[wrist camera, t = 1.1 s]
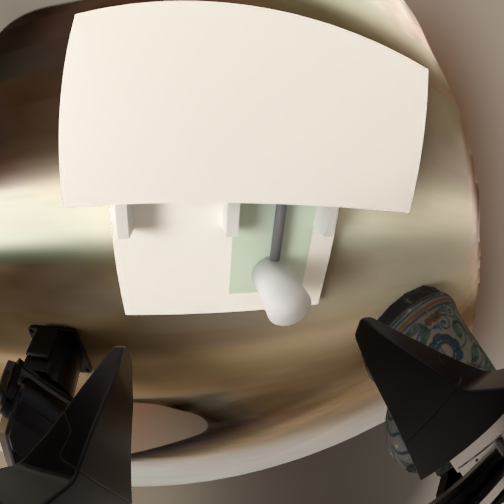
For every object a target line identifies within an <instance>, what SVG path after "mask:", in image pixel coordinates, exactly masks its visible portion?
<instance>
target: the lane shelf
mask: <svg viewBox="0 0 504 504" xmlns="http://www.w3.org/2000/svg"><path fill="white" fill-rule="evenodd" d="M427 95H428V69H427V68H425V67H423V66H422V65H420V64H418V63H416V62H415V61H413V60H411V59H409V58H407V57H406V56H404V55H402V54H400V53H398V52H396V51H394V50H392V49H390V48H388V47H386V46H384V45H381V44H379V43H377V42H375V41H372V40H370V39H368V38H365V37H363V36H361V35H358V34H356V33H353V32H350V31H348V30H345V29H342V28H339V27H337V26H334V25H331V24H328V23H324V22H321V21H318V20H315V19H311V18H307V17H304V16H300V15H296V14H292V13H288V12H283V11H278V10H273V9H268V8H263V7H256V6H250V5H243V4H234V3H224V2H210V1H157V2H144V3H134V4H126V5H119V6H112V7H106V8H101V9H96V10H91V11H87V12H83V13H79V14H75V17H74V20H73V24H72V28H71V33H70V37H69V42H68V47H67V52H66V58H65V64H64V71H63V79H62V87H61V98H60V113H59V170H60V185H61V196H62V205H63V208H73V207H88V206H105V205H109V208H110V219H111V229H112V238H113V246H114V254H115V261H116V267H117V273H118V279H119V285H120V290H121V295H122V300H123V305H124V310H125V315H170V314H200V313H221V312H237V311H252V310H265V309H264V306H263V304H262V302H261V300H260V297H259V295H258V293H257V290H256V288H255V286H254V283H253V281H252V277H251V274H252V270H253V268H254V266H255V265H256V264H257V263H258V262H259V261H260V260H262V259H263V258H266V257H269V256H270V250H271V242H272V234H273V226H274V218H275V210H276V204H286V205H287V210H286V218H285V225H284V232H283V239H282V246H281V253H280V258H282V259H284V260H285V261H286V263H287V264H288V266H289V267H290V268H291V270H292V271H293V273H294V274H295V276H296V277H297V278H298V280H299V281H300V283H301V284H302V286H303V287H304V288H305V290H306V291H307V293H308V294H309V296H310V298H311V305H317V304H318V302H319V298H320V294H321V290H322V286H323V282H324V278H325V274H326V270H327V266H328V262H329V257H330V253H331V248H332V244H333V239H334V234H335V229H336V224H337V219H338V214H339V209H340V207H342V208H356V209H369V210H381V211H392V212H402V213H410V209H411V205H412V200H413V196H414V191H415V186H416V181H417V176H418V171H419V165H420V159H421V152H422V146H423V138H424V130H425V120H426V109H427Z"/></svg>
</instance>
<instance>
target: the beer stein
mask: <svg viewBox="0 0 504 504" xmlns="http://www.w3.org/2000/svg"><path fill="white" fill-rule="evenodd" d="M377 321H379V322H381V323H383V324H385V325H387V326H389V327H391V328H393V329H395V330H397V331H399V332H401V333H403V334H405V335H407V336H409V337H411V338H413V339H415V340H417V341H419V342H421V343H423V344H425V345H427V346H429V347H431V348H433V349H435V350H437V351H439V352H441V353H443V354H445V355H447V356H449V357H451V358H454V359H456V360H458V361H461V362H463V363H466V364H468V365H471V366H473V367H476V368H478V369H481V370H484V371H495V370H496V369H495V367H494V366H493V364H492V363H491V361H490V360H489V358H488V357H487V355H486V354H485V352H484V351H483V349H482V348H481V346H480V345H479V344H478V342H477V340H476V339H475V338H474V336H473V335H472V333H471V332H470V330H469V329H468V327H467V326H466V324H465V323H464V321H463V319H462V318H461V316H460V314H459V312H458V310H457V307H456V304H455V302H454V300H453V299H452V298H451V297H450V296H449V295H448V294H445V293H443V292H440V291H439V290H437V289H436V288H433V287H428V286H421V287H419V288H416V289H414V290H412V291H410V292H408V293H405V294H404V295H403V296H402V297H401V298H399V299H398V300H397V301H396V302H394V303H393V304H392V305H391V306H389V308H388V309H387V310H386V311H385V312H384V313H383V314H382V316H381V317H380V318H379V319H378V320H377ZM362 357H363V355H362ZM363 360H364V358H363ZM364 363H365V360H364ZM365 366H366V370H367V372H368V375H369V376H370V378H371V379H372V380H373V378H372V376H371V374H370V372H369V370H368V368H367V365H366V363H365ZM373 381H374V380H373ZM385 435H386V442H387V446H388V449H389V451H390V454H391V456H392V457H393V458H394V460H395V461H396V462H397V463H398V464H399V465H400V466H402V467H404V468H406V470H407V471H408V472H413V473H417V471H416V468H415V466H414V464H413V461H412V459H411V457H410V455H409V452H408V450H407V448H406V446H405V443H404V441H403V439H402V437H401V435H400V433H399V430H398V428H397V426H396V424H395V422H394V420H393V418H392V416H391V414H390V412H389V410H388V408H387V413H386V421H385ZM452 466H453V465H452V464H451V462H450V461H449V462H448V463H447V464H445V465H444V466H442V467H441V468H439V469H438V470H436V471H435V472H436V474H437V476H440V477H441V475H442V474H443V473H444V472H446V471H447V470H448V469H449V468H451V467H452Z"/></svg>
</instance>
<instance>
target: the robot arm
mask: <svg viewBox="0 0 504 504" xmlns="http://www.w3.org/2000/svg"><path fill="white" fill-rule="evenodd" d="M28 330H29V333H30V335H31V337H32V341H31V343H30V346H29V348H28V350H27V352H26V355H27V357H26V359H25V361H22V360H21V359H20V358H19V359H18V361H17V362H15V361H14V362H13V361H10V360H9V361H8V362H7V364H6V366H5V369H4V371H3V373H2V376H1V379H0V414H2V418H1V422H0V442H1V446H2V449H3V453H4V456H5V459H6V462H7V465H8V467H5V468H1V469H0V504H132V495H131V494H132V492H131V434H132V433H131V432H132V412H133V388H132V363H131V360H130V357H129V354H128V351H127V349H126V347H125V346H114V347H113V348H112V349H111V351H110V352H109V353H108V354H107V356H106V357H105V358H104V359H103V361H102V362H101V363H100V364H99V366H98V367H97V368H96V370H95V371H94V372H93V373H92V375H91V376H90V377H89V379H88V380H87V381H86V382H85V384H84V385H83V386H82V388H81V389H80V390H79V392H78V393H77V394H76V396H75V397H74V394H75V389H76V385H77V381H78V377H79V373H80V372H88V373H90V372H91V371H92V367H91V364H90V362H89V360H88V358H87V355H86V353H85V351H84V348H83V346H82V343H81V341H80V338H79V336H78V333H77V331H76V330H74V329H70V328H56V327H43V326H33V325H31V326H30V327H29V328H28ZM72 333H73V334H72ZM355 337H356V340H357V343H358V345H359V348H360V350H361V353H362V355H363V358H364V360H365V363H366V365H367V368H368V370H369V372H370V374H371V376H372V378H373V380H374V382H375V384H376V386H377V387H378V389H379V391H380V393H381V395H382V397H383V399H384V401H385V403H386V405H387V408H388V410H389V412H390V414H391V416H392V418H393V420H394V422H395V424H396V426H397V428H398V430H399V433H400V435H401V437H402V439H403V441H404V443H405V446H406V448H407V450H408V452H409V455H410V457H411V459H412V461H413V464H414V466H415V468H416V471H417V473H418V475H419V477H420V479H421V480H423V479H424V478H426V477H427V476H429V475H430V474H432V473H433V472H435V471H436V470H438V469H439V468H441V467H442V466H444V465H445V464H447V463H448V462H449V461H450V462H451V464H452V465H453V466H452V467H451V468H449V469H448V470H447V471H446V472H444V473H443V474H442V475H441V479H440V483H439V487H438V491H437V494H436V497H437V498H436V499H435V500H433V501H432V502H431V503H429V504H501V503H503V502H504V369H500V370H495V371H484V370H481V369H478V368H476V367H473V366H471V365H468V364H466V363H463V362H461V361H458V360H456V359H454V358H451V357H449V356H447V355H445V354H443V353H441V352H439V351H437V350H435V349H433V348H431V347H429V346H427V345H425V344H423V343H421V342H419V341H417V340H415V339H413V338H411V337H409V336H407V335H405V334H403V333H401V332H399V331H397V330H395V329H393V328H391V327H389V326H387V325H385V324H383V323H381V322H379V321H377V320H375V319H373V318H372V317H366V318H362V319H361V320H360V322H359V325H358V327H357V330H356V333H355Z"/></svg>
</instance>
